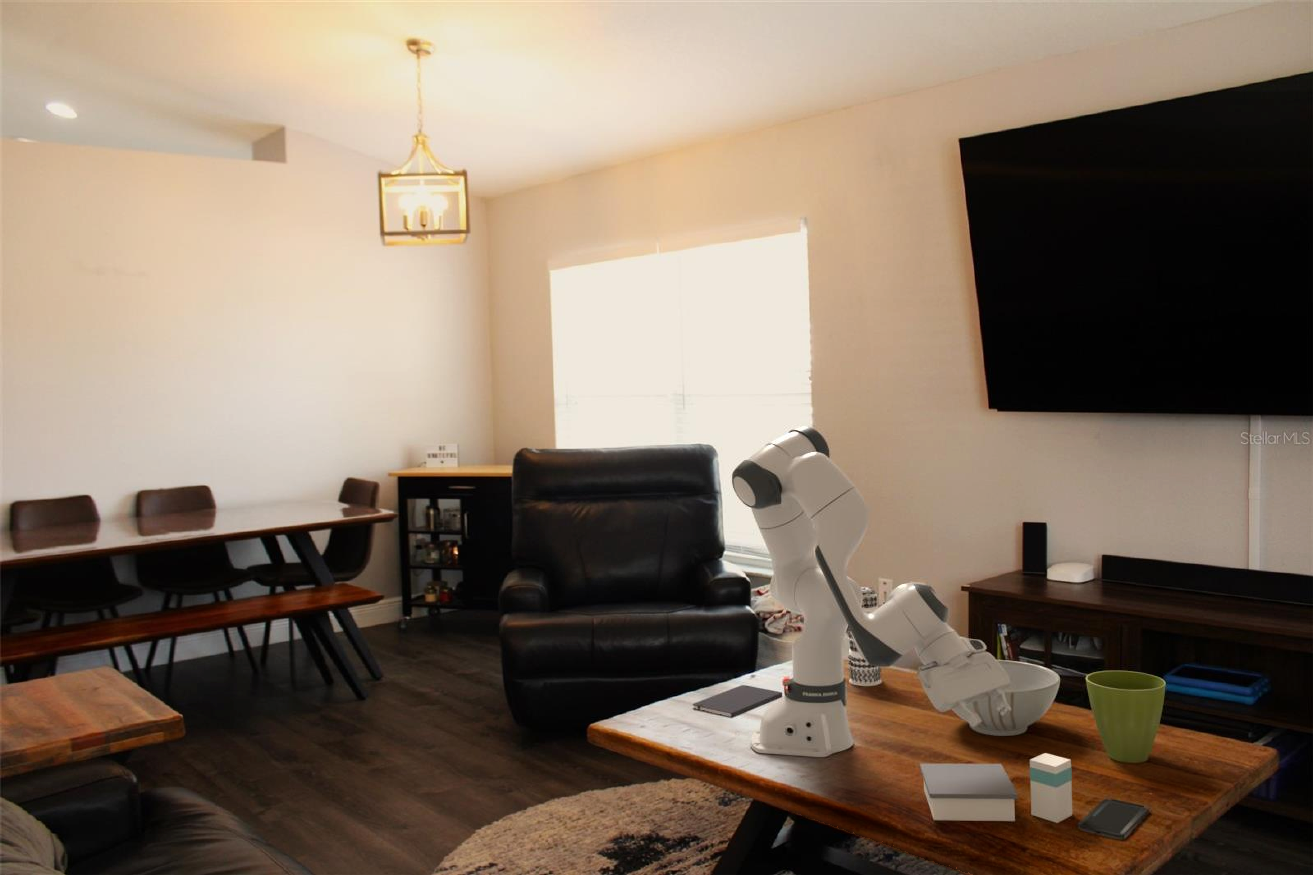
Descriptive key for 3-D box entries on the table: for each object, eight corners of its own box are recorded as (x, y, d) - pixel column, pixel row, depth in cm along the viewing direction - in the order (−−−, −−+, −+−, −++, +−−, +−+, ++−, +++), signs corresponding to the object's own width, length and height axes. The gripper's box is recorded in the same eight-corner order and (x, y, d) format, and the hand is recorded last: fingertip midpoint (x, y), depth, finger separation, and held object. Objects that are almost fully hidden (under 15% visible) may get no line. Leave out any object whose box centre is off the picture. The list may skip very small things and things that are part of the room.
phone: (1150, 807, 184) (1123, 835, 173) (1150, 813, 184) (1123, 842, 173) (1105, 797, 189) (1075, 824, 178) (1105, 803, 189) (1075, 831, 178)
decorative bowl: (984, 754, 216) (982, 697, 215) (914, 718, 241) (912, 667, 241) (1088, 736, 224) (1087, 681, 224) (1010, 703, 250) (1008, 654, 249)
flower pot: (1076, 745, 219) (1074, 671, 218) (1147, 743, 218) (1145, 668, 218) (1105, 771, 204) (1102, 691, 203) (1181, 768, 203) (1179, 688, 203)
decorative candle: (848, 686, 270) (844, 592, 269) (847, 676, 279) (844, 585, 278) (883, 686, 269) (880, 591, 268) (881, 677, 278) (878, 585, 277)
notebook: (731, 719, 248) (782, 698, 264) (731, 713, 248) (782, 692, 264) (691, 710, 257) (743, 690, 273) (691, 704, 257) (742, 684, 273)
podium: (930, 821, 184) (929, 793, 183) (920, 789, 199) (919, 763, 198) (1019, 822, 182) (1018, 794, 181) (1001, 789, 197) (1001, 764, 196)
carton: (1031, 814, 185) (1029, 759, 184) (1046, 806, 188) (1045, 752, 187) (1057, 823, 181) (1055, 767, 180) (1072, 814, 184) (1071, 759, 183)
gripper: (922, 658, 191) (968, 722, 184) (987, 639, 204) (1033, 698, 196) (903, 677, 195) (948, 740, 188) (969, 657, 208) (1013, 716, 200)
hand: (992, 718), depth 192 cm, fingers open, 8 cm apart
